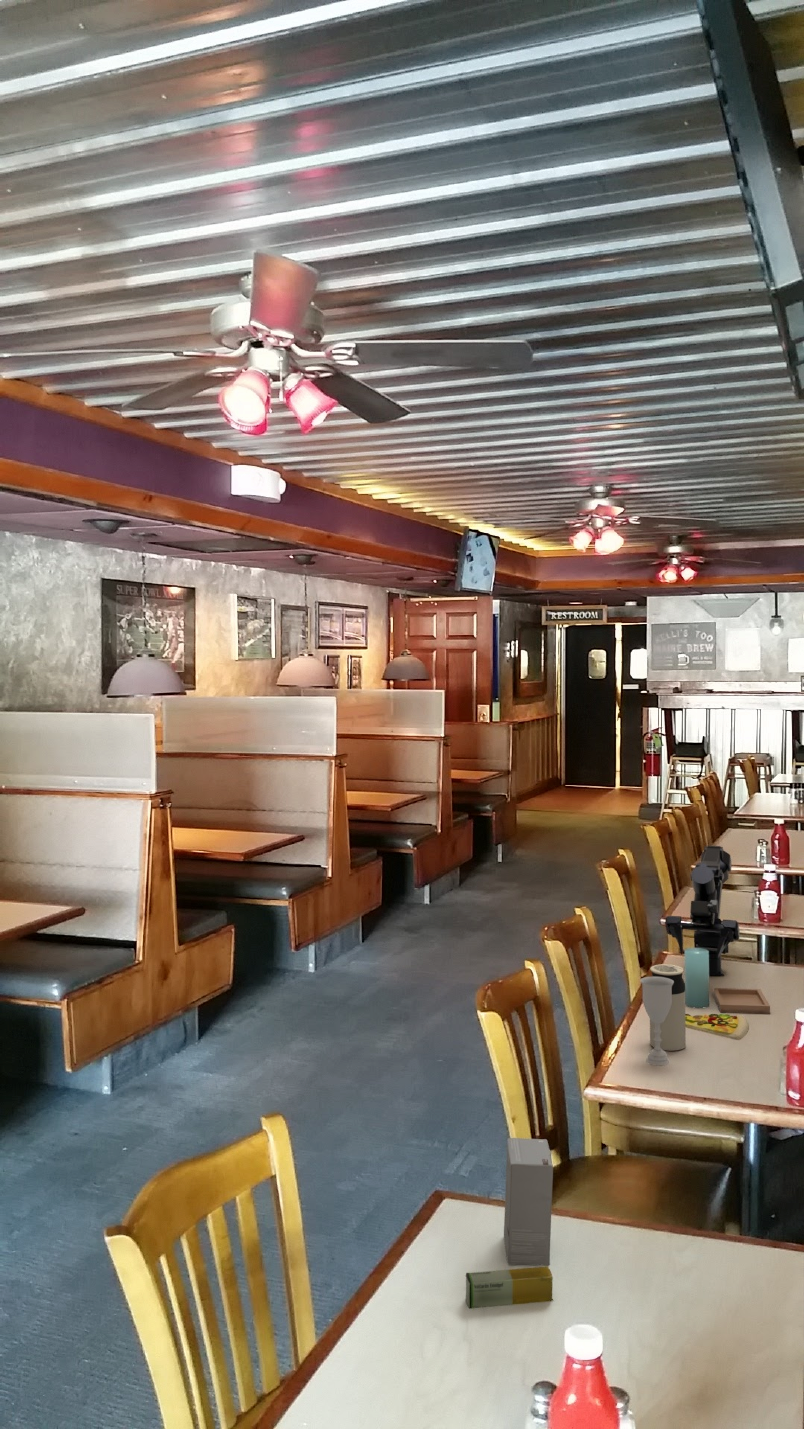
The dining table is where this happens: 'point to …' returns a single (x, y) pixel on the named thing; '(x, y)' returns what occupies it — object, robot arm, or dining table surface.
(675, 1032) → the travel mug
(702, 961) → the teal rounded cylinder
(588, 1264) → the dining table surface
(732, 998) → the tray
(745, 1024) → the pizza slice
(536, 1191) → the skincare box
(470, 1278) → the medication box
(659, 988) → the chalice
